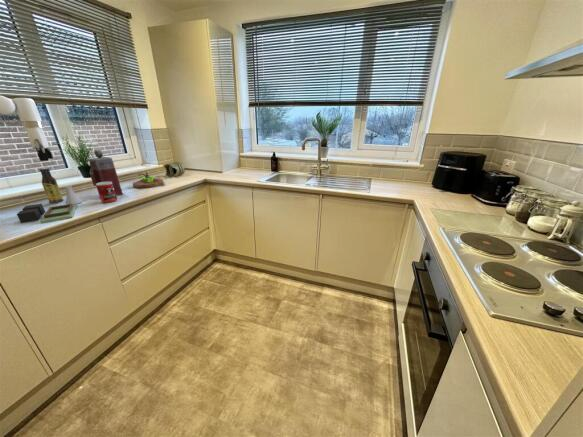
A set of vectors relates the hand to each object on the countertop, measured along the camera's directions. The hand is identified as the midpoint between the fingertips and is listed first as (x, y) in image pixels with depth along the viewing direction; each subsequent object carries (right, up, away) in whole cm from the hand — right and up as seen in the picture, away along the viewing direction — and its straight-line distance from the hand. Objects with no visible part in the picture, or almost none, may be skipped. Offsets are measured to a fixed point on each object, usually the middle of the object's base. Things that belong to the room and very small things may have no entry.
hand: (47, 159), depth 127 cm
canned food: (+23, -21, +14) cm, 34 cm away
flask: (+4, -23, +12) cm, 26 cm away
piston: (+31, +5, +77) cm, 83 cm away
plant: (+25, -7, +49) cm, 56 cm away
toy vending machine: (+14, -17, +25) cm, 34 cm away
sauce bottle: (-10, -22, +15) cm, 28 cm away
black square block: (+5, -32, -12) cm, 34 cm away
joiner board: (+12, -29, -5) cm, 32 cm away
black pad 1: (-1, -29, -5) cm, 30 cm away
